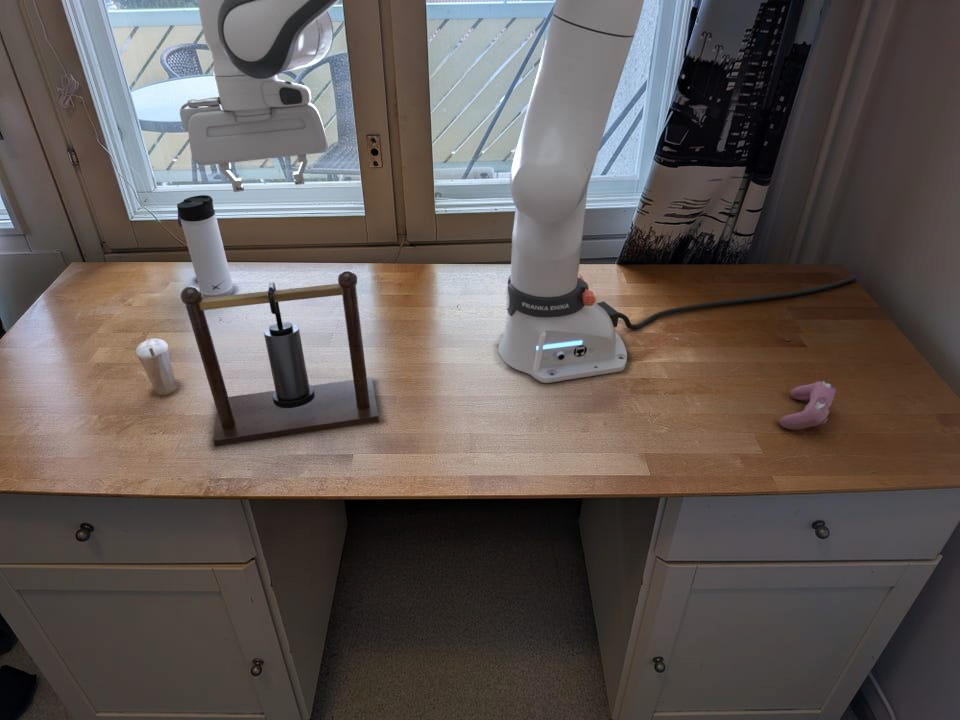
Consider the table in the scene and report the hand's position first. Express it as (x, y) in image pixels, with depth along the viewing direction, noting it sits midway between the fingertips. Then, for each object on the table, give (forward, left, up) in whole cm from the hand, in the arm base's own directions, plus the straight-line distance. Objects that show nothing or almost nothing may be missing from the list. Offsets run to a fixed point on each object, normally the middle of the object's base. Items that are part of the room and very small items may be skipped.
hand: (269, 187), depth 103 cm
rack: (-4, +23, -28) cm, 36 cm away
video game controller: (-83, +28, -28) cm, 92 cm away
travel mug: (+18, -16, -28) cm, 37 cm away
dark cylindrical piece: (-5, +26, -23) cm, 35 cm away
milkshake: (+18, +16, -28) cm, 37 cm away
